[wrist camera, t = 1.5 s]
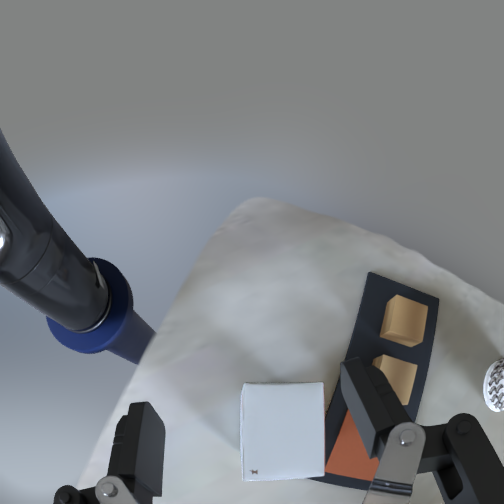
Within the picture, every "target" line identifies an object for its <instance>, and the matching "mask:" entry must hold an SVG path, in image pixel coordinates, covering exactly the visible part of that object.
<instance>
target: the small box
mask: <svg viewBox="0 0 504 504" xmlns="http://www.w3.org/2000/svg"><path fill="white" fill-rule="evenodd" d="M240 452H241V462H242V478H243V481H266V480H285V479H298V478H310V477H319V476H324V475H325V406H324V383H323V382H298V383H252V382H246V383H244V385H243V388H242V392H241V406H240Z"/></svg>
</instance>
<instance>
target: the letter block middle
mask: <svg viewBox="0 0 504 504" xmlns="http://www.w3.org/2000/svg"><path fill="white" fill-rule="evenodd" d="M372 365H374V366H376V367H377V368H378V369H380V370H381V371H383V373H384V374H385V376H386V378H387V379H388V381H389V383H390V384H391V386H392V388H393V391H395V393H396V395H397V396H398V398H399V400H400V402H401V403H402V405H408V402H409V398H410V395H411V391H412V387H413V383H414V379H415V375H416V370H417V366H418V365H415V364H412V363H409V362H405V361H402V360H399V359H396V358H393V357H390V356H386V355H382V356H379V357H377V358H375V359H373V363H372Z"/></svg>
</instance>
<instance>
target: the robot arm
mask: <svg viewBox="0 0 504 504" xmlns="http://www.w3.org/2000/svg"><path fill="white" fill-rule="evenodd" d="M93 262H94V261H93ZM94 266H95V267H94ZM94 266H93V265H92V264H91V262H90V261H89V260H88V259H87V258H86V257H85V255H84V254H83V253H82V252H81V251H80V250H79V248H78V247H77V246H76V245H75V244H74V242H73V241H72V240H71V238H70V237H69V236H68V235H67V234H66V232H65V231H64V230H63V228H62V227H61V226H60V225H59V224H58V222H57V221H56V220H55V218H54V217H53V216H52V214H50V212H49V211H48V209H47V207H46V206H45V205H44V204H43V202H42V201H41V199H40V197H39V196H38V194H37V192H36V191H35V189H34V187H33V186H32V184H31V183H30V181H29V179H28V178H27V176H26V175H25V173H24V171H23V170H22V168H21V167H20V165H19V163H18V162H17V160H16V158H15V156H14V154H13V153H12V151H11V149H10V147H9V145H8V143H7V141H6V139H5V137H4V135H3V133H2V130H1V128H0V285H1V286H3V287H5V288H6V289H7V290H8V291H10V292H12V293H13V294H14V295H16V296H17V297H19V298H20V299H22V300H23V301H25V302H26V303H28V304H29V305H31V306H32V307H34V308H35V309H37V310H39V311H40V312H41V313H43V314H45V315H46V316H48V317H49V318H51V319H53V320H54V321H56V322H57V323H59V324H61V325H62V326H64V327H65V328H66V329H68V330H70V331H71V332H74V333H78V334H85V333H90V332H92V331H94V330H96V329H97V328H99V327H100V326H101V325H102V324H103V323H104V322H105V320H106V319H107V317H108V316H109V314H110V311H111V308H112V303H113V294H112V289H111V287H110V284H109V283H108V281H107V280H106V279H105V278H104V276H103V275H101V274H100V273H99V270H98V266H97V265H96V264H95V262H94ZM340 370H341V390H342V394H343V397H344V400H345V402H346V404H347V407H348V409H349V411H350V414H351V416H352V418H353V421H354V423H355V425H356V428H357V430H358V432H359V435H360V437H361V440H362V442H363V444H364V447H365V449H366V452H367V454H368V456H369V459H373V458H375V457H377V458H378V461H379V465H378V468H377V470H376V473H375V475H374V478H373V480H372V482H371V484H370V487H369V489H368V491H367V494H366V496H365V498H364V500H363V503H362V504H409V501H410V498H411V495H412V487H413V483H414V480H415V477H416V474H419V473H426V472H432V473H433V475H434V477H435V480H436V482H437V485H438V487H439V490H440V492H441V495H442V497H443V500H444V502H445V504H504V467H503V465H502V463H501V461H500V459H499V457H498V456H497V454H496V452H495V450H494V448H493V446H492V445H491V443H490V441H489V439H488V437H487V436H486V434H485V432H484V430H483V429H482V427H481V425H480V424H479V422H478V420H477V419H476V418H475V417H474V416H472V415H470V414H467V413H461V414H457V415H455V416H454V417H452V418H451V419H450V420H449V422H448V423H447V424H441V425H435V426H421V425H418V424H416V423H415V422H413V421H412V420H411V419H410V417H409V416H408V414H407V412H406V410H405V409H404V407H403V405H402V403H401V402H400V400H399V398H398V396H397V395H396V393H395V391H393V388H392V386H391V384H390V383H389V381H388V379H387V378H386V376H385V374H384V373H383V371H381V370H380V369H378V368H377V367H376V366H374V365H372V366H369V367H366V368H365V367H364V365H363V363H362V361H361V359H360V358H359V357H356V358H353V359H350V360H347V361H344V362H341V364H340ZM113 444H114V445H113V446H112V451H111V457H110V462H109V468H108V473H107V476H106V477H103V478H102V479H100V480H99V482H98V483H97V485H96V486H95V487H91V488H87V489H83V490H77V489H76V488H74V487H73V486H70V485H65V486H62V487H61V488H59V489H58V490H57V492H56V493H55V497H54V503H53V504H153V503H152V500H153V496H154V497H162V478H163V461H164V447H165V426H164V423H163V421H162V420H161V418H160V417H159V415H158V414H157V413H156V411H155V410H154V408H153V407H152V406H151V404H150V403H149V402H137V403H131V404H130V406H129V410H128V415H123V416H122V418H121V419H120V421H119V422H118V424H117V426H116V431H115V437H114V441H113Z"/></svg>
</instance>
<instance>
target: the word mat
mask: <svg viewBox="0 0 504 504" xmlns="http://www.w3.org/2000/svg"><path fill="white" fill-rule="evenodd" d="M396 295H400V296H402V297H405V298H407V299H410V300H413V301H415V302H418V303H420V304H423V305H426V306H428V310H427V317H426V323H425V329H424V335H423V341H422V342H421V343H419V344H417V345H415V346H413V347H408V346H405V345H402V344H399V343H396V342H394V341H391V340H388V339H385V338H382V337H380V332H381V328H382V324H383V320H384V315H385V310H386V306H387V302H388V301H390V300H391V299H392V298H393V297H394V296H396ZM438 306H439V299H438V298H436V297H433V296H431V295H428V294H426V293H423V292H421V291H418V290H416V289H413V288H411V287H408V286H405V285H403V284H400V283H398V282H395V281H393V280H390V279H388V278H385V277H382V276H380V275H377V274H375V273H372V272H369V273H368V276H367V280H366V285H365V289H364V293H363V297H362V301H361V305H360V309H359V313H358V316H357V320H356V324H355V327H354V331H353V335H352V338H351V341H350V345H349V348H348V352H347V355H346V358H345V361H347V360H350V359H353V358H356V357H359V358H360V359H361V361H362V363H363V365H364V367H365V368H366V367H369V366H372V363H373V359H375V358H377V357H379V356H382V355H386V356H390V357H393V358H396V359H399V360H402V361H405V362H409V363H412V364H415V365H418V366H417V370H416V375H415V379H414V383H413V387H412V391H411V395H410V398H409V402H408V405H403V407H404V409H405V410H406V412H407V414H408V416H409V417H410V419H411V420H412V421H413V422H415V419H416V416H417V412H418V408H419V405H420V401H421V397H422V393H423V389H424V385H425V381H426V376H427V372H428V367H429V362H430V357H431V352H432V346H433V340H434V334H435V328H436V321H437V314H438ZM378 465H379V461H378V458H377V457H375V458H373V459H369V456H368V454H367V452H366V449H365V447H364V444H363V442H362V440H361V437H360V435H359V432H358V430H357V428H356V425H355V423H354V421H353V418H352V416H351V414H350V411H349V409H348V407H347V404H346V402H345V400H344V397H343V394H342V390H341V374H340V377H339V380H338V383H337V386H336V389H335V392H334V395H333V397H332V400H331V403H330V406H329V409H328V411H327V414H326V417H325V475H324V476H319V477H310V478H308V479H312V480H316V481H320V482H325V483H329V484H334V485H339V486H344V487H349V488H355V489H361V490H368V489H369V487H370V484H371V482H372V480H373V478H374V475H375V473H376V470H377V468H378Z"/></svg>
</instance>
